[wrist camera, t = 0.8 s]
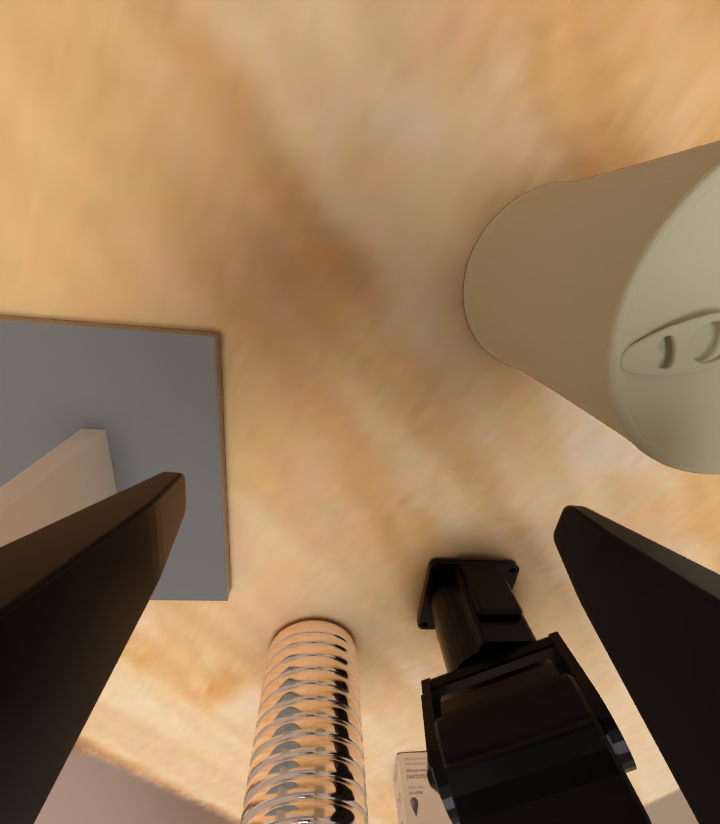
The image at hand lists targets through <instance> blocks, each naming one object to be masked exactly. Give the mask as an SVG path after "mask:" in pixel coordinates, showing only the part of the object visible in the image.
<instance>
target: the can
mask: <svg viewBox="0 0 720 824" xmlns="http://www.w3.org/2000/svg"><path fill="white" fill-rule="evenodd" d="M463 299H464V309H465V314H466V318H467V321H468V324H469V327H470V329H471V331H472V333H473V335H474V336H475V338H476V340H477V341H478V342H479V344H480V345H481V346H482V347H483V348H484V349H485V350H486V351H487V352H488V353H489V354H490V355H492V356H493V357H494V358H496V359H498V360H499V361H501V362H503V363H506V364H508V365H511V366H514V367H516V368H518V369H520V370H521V371H523V372H525V373H526V374H528V375H529V376H531V377H533V378H534V379H536V380H537V381H539V382H541V383H542V384H544V385H545V386H547V387H549V388H550V389H552V390H553V391H555V392H556V393H558V394H560V395H561V396H563V397H564V398H566V399H567V400H569V401H570V402H572V403H573V404H575V405H576V406H578V407H580V408H581V409H583V410H584V411H586V412H587V413H589V414H590V415H592V416H593V417H595V418H596V419H598V420H599V421H601V422H602V423H604V424H606V425H607V426H609V427H610V428H612V429H613V430H615V431H616V432H618V433H619V434H621V435H622V436H623V437H625V438H626V439H628V440H629V441H630V442H632V443H633V444H634V445H635V446H636V447H637V448H638V449H639V450H640V451H642V452H643V453H645V454H646V455H647V456H649V457H650V458H652V459H654V460H656V461H658V462H660V463H661V464H664V465H666V466H669V467H672V468H675V469H679V470H682V471H687V472H692V473H699V474H720V141H716V142H713V143H709V144H706V145H702V146H699V147H695V148H692V149H688V150H685V151H681V152H678V153H674V154H671V155H668V156H664V157H661V158H657V159H654V160H650V161H647V162H643V163H640V164H636V165H633V166H629V167H626V168H622V169H618V170H615V171H611V172H607V173H604V174H600V175H596V176H593V177H589V178H585V179H581V180H577V181H573V182H559V183H552V184H548V185H544V186H541V187H539V188H536V189H533V190H531V191H529V192H527V193H525V194H523V195H522V196H520V197H518V198H517V199H515V200H514V201H512V202H511V203H510V204H508V205H507V206H506V207H505V208H504V209H502V210H501V211H500V212H499V213H498V214H497V215H496V217H495V218H494V219H493V220H492V221H491V222H490V223H489V225H488V226H487V227H486V229H485V230H484V231H483V233H482V234H481V236H480V238H479V240H478V241H477V243H476V245H475V247H474V249H473V251H472V254H471V257H470V259H469V262H468V265H467V269H466V273H465V279H464V288H463Z"/></svg>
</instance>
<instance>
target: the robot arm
mask: <svg viewBox="0 0 720 824" xmlns="http://www.w3.org/2000/svg"><path fill="white" fill-rule="evenodd" d="M185 510H186V486H185V476H184V475H183V474H182V473H177V472H162V473H159V474H157V475H155V476H153V477H151V478H149V479H147V480H144V481H142V482H140V483H138V484H136V485H134V486H131V487H129V488H127V489H125V490H123V491H121V492H118V493H116V494H114V495H112V496H110V497H108V498H105V499H103V500H101V501H99V502H97V503H95V504H93V505H90V506H88V507H86V508H84V509H82V510H80V511H77V512H75V513H73V514H71V515H69V516H67V517H64V518H62V519H60V520H58V521H56V522H54V523H51V524H49V525H47V526H45V527H43V528H41V529H38V530H36V531H34V532H32V533H30V534H28V535H25V536H23V537H21V538H19V539H17V540H15V541H12V542H10V543H8V544H6V545H4V546H2V547H0V824H34V822H35V820H36V818H37V816H38V814H39V813H40V810H41V809H42V807H43V805H44V803H45V801H46V799H47V797H48V795H49V793H50V791H51V789H52V787H53V786H54V784H55V781H56V780H57V777H58V776H59V773H60V772H61V770H62V768H63V766H64V764H65V762H66V760H67V758H68V756H69V755H70V753H71V751H72V749H73V747H74V745H75V743H76V741H77V739H78V737H79V735H80V733H81V731H82V729H83V727H84V725H85V724H86V722H87V720H88V718H89V716H90V714H91V712H92V710H93V708H94V706H95V704H96V702H97V700H98V698H99V696H100V694H101V693H102V691H103V689H104V687H105V685H106V683H107V681H108V679H109V677H110V675H111V673H112V671H113V669H114V667H115V665H116V664H117V662H118V660H119V658H120V656H121V654H122V652H123V650H124V648H125V646H126V644H127V642H128V640H129V638H130V636H131V634H132V633H133V631H134V629H135V627H136V625H137V623H138V621H139V619H140V617H141V615H142V613H143V611H144V609H145V607H146V605H147V603H148V602H149V600H150V598H151V596H152V594H153V592H154V590H155V588H156V586H157V584H158V582H159V580H160V577H161V575H162V573H163V570H164V568H165V565H166V562H167V560H168V557H169V554H170V552H171V549H172V546H173V544H174V541H175V539H176V536H177V533H178V531H179V528H180V525H181V523H182V520H183V517H184V514H185ZM554 542H555V545H556V547H557V549H558V552H559V554H560V556H561V559H562V561H563V563H564V566H565V568H566V570H567V573H568V575H569V577H570V580H571V582H572V585H573V587H574V589H575V592H576V594H577V596H578V598H579V600H580V602H581V604H582V606H583V608H584V610H585V612H586V614H587V616H588V618H589V620H590V621H591V623H592V625H593V627H594V629H595V631H596V633H597V634H598V636H599V638H600V640H601V642H602V644H603V646H604V648H605V649H606V651H607V653H608V655H609V657H610V659H611V661H612V662H613V664H614V666H615V668H616V670H617V672H618V674H619V675H620V677H621V679H622V681H623V683H624V685H625V687H626V689H627V690H628V692H629V694H630V696H631V698H632V700H633V702H634V703H635V705H636V707H637V709H638V711H639V713H640V715H641V716H642V718H643V720H644V722H645V724H646V726H647V728H648V730H649V731H650V733H651V735H652V737H653V739H654V741H655V743H656V744H657V746H658V748H659V750H660V752H661V754H662V756H663V757H664V759H665V761H666V763H667V765H668V767H669V769H670V771H671V772H672V774H673V776H674V778H675V780H676V782H677V784H678V785H679V787H680V789H681V791H682V793H683V795H684V797H685V798H686V800H687V802H688V804H689V806H690V808H691V809H692V811H693V813H694V815H695V817H696V819H697V821H698V823H699V824H720V575H719V574H717V573H715V572H713V571H711V570H709V569H707V568H705V567H703V566H701V565H699V564H697V563H695V562H693V561H691V560H689V559H687V558H686V557H684V556H682V555H680V554H678V553H676V552H674V551H672V550H670V549H668V548H666V547H664V546H662V545H660V544H658V543H656V542H654V541H652V540H650V539H648V538H646V537H644V536H642V535H640V534H638V533H636V532H634V531H632V530H630V529H628V528H626V527H624V526H622V525H620V524H618V523H616V522H614V521H612V520H610V519H608V518H606V517H604V516H602V515H600V514H598V513H596V512H594V511H592V510H590V509H588V508H586V507H583V506H573V505H569V506H566V507H565V508H564V509H563V511H562V514H561V516H560V518H559V521H558V523H557V526H556V528H555V531H554ZM437 566H438V567H437ZM435 567H436V568H435ZM518 572H519V567H518V566H517V564H516V562H514V561H490V560H443V559H436V560H433V561H431V562H430V564H429V567H428V572H427V576H426V581H425V585H424V590H423V595H422V599H421V604H420V608H419V613H418V618H417V623H418V627H419V628H420V629H436V633H437V637H438V640H439V644H440V647H441V651H442V655H443V658H444V662H445V665H446V669H447V673H446V674H444V675H441V676H438V677H435V678H433V679H430V678H427V679H425V680H422V681H421V684H422V693H423V695H421V700H422V710H423V719H424V729H425V739H426V748H427V778H428V782H429V785H430V787H431V788H432V789H434V790H435V791H436V792H437V793H438V794H439V795H440V798H441V800H442V802H443V804H444V807H445V810H446V812H447V814H448V816H449V818H450V820H451V822H452V823H453V824H652V823H651V821H650V819H649V816H648V814H647V813H646V811H645V809H644V807H643V805H642V803H641V801H640V799H639V797H638V796H637V794H636V792H635V790H634V788H633V786H632V784H631V782H630V780H629V779H628V777H627V775H626V772H629V771H633V770H636V764H635V762H634V759H633V757H632V755H631V752H630V750H629V748H628V746H627V744H626V742H625V740H624V738H623V736H622V734H621V732H620V730H619V728H618V726H617V725H616V723H615V721H614V719H613V717H612V716H611V714H610V712H609V710H608V709H607V707H606V705H605V703H604V702H603V700H602V698H601V697H600V695H599V693H598V692H597V690H596V689H595V687H594V686H593V684H592V683H591V681H590V680H589V678H588V677H587V675H586V674H585V672H584V671H583V669H582V668H581V666H580V665H579V663H578V662H577V660H576V659H575V657H574V656H573V654H572V653H571V651H570V650H569V648H568V647H567V645H566V644H565V642H564V641H563V639H562V638H561V636H560V635H559V633H558V632H557V631H556V632H554V633H551V634H548V635H549V636H548V637H545V638H542V639H540V640H536V638H535V636H534V634H533V632H532V631H531V629H530V627H529V625H528V623H527V621H526V619H525V617H524V615H523V610H522V608H521V607H520V605H519V603H518V601H517V599H516V597H515V595H514V593H513V592H512V590H513V587H514V584H515V581H516V578H517V575H518Z"/></svg>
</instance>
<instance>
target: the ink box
mask: <svg viewBox="0 0 720 824" xmlns="http://www.w3.org/2000/svg"><path fill="white" fill-rule="evenodd" d="M394 788H395V797H396V807H397V815H398V824H453V823H452V822H451V820H450V818H449V816H448V814H447V812H446V810H445V807H444V804H443V802H442V800H441V798H440V795H439V794H438V793H437V792H436V791H435V790H434V789H432V788H431V787H430V785H429V782H428V778H427V752H415V753H400V754H398V755H397V762H396V768H395V773H394Z"/></svg>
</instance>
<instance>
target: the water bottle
mask: <svg viewBox="0 0 720 824" xmlns="http://www.w3.org/2000/svg"><path fill="white" fill-rule="evenodd" d="M366 801H367V792H366V783H365V765H364V749H363V733H362V718H361V703H360V689H359V674H358V661H357V653H356V648H355V644H354V642H353V639H352V638H351V636H350V635H349V633H348V632H347V631H346V630H344V629H343V628H342V627H340V626H338V625H336V624H334V623H331V622H328V621H323V620H306V621H301V622H297V623H294V624H292V625H290V626H288V627H286V628H285V629H283V630H282V631H281V632H279V633H278V634H277V636H276V637H275V638H274V640H273V641H272V643H271V645H270V648H269V651H268V655H267V660H266V664H265V670H264V676H263V683H262V689H261V696H260V703H259V708H258V717H257V721H256V728H255V735H254V740H253V750H252V753H251V759H250V769H249V773H248V779H247V789H246V792H245V797H244V809H243V813H242V817H241V823H240V824H368V808H367V803H366Z"/></svg>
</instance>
